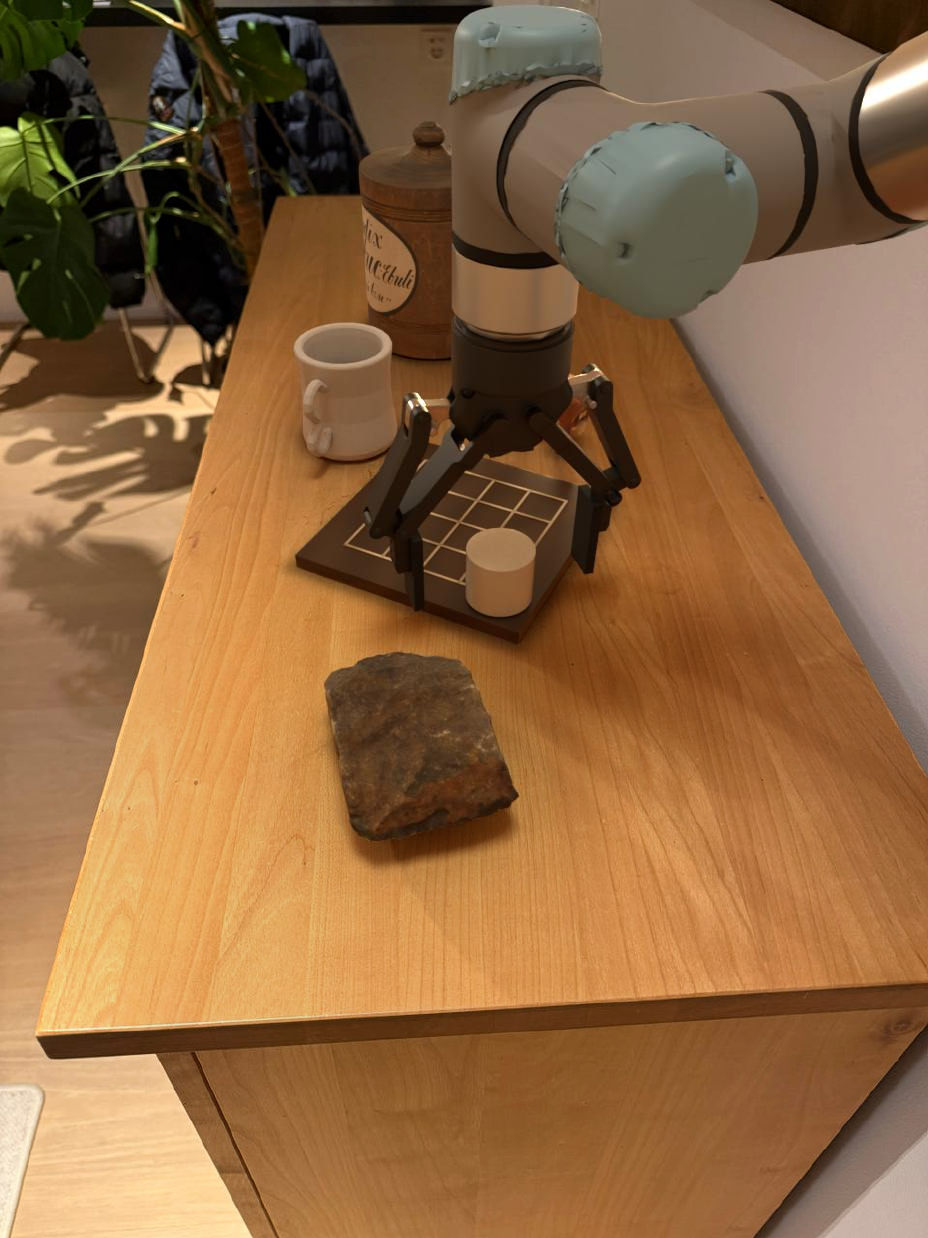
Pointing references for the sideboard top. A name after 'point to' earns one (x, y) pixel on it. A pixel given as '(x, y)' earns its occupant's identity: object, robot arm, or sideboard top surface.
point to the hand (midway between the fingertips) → (500, 581)
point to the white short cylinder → (499, 572)
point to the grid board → (457, 542)
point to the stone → (414, 746)
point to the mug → (346, 391)
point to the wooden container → (410, 243)
